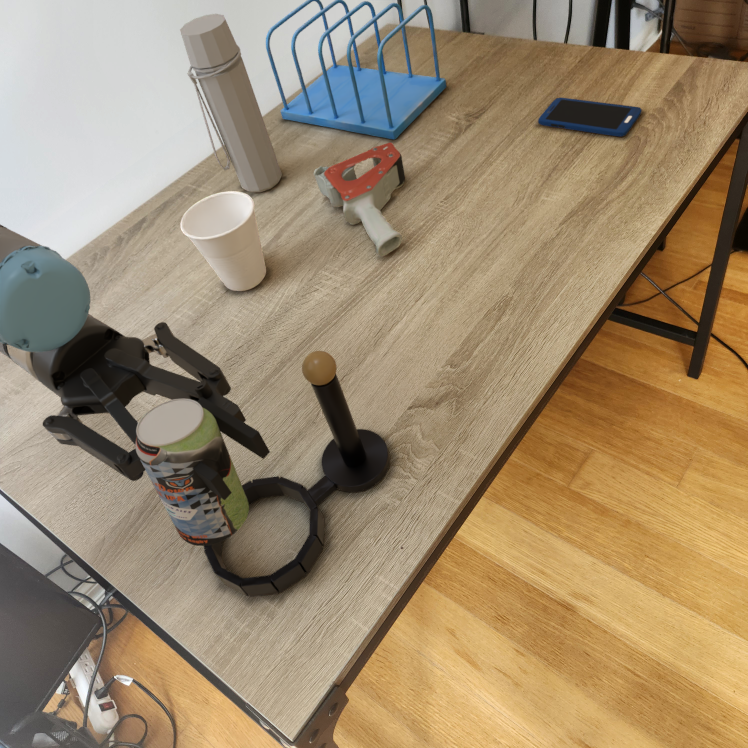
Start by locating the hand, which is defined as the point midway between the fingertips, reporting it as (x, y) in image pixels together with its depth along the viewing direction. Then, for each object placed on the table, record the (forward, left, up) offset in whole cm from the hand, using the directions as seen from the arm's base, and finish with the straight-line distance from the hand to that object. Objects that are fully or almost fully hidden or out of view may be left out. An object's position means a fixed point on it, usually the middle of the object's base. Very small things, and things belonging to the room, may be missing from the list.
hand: (241, 465), depth 47 cm
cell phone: (+3, +80, -18) cm, 82 cm away
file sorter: (-37, +79, -18) cm, 89 cm away
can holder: (-4, +5, -18) cm, 20 cm away
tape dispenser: (-21, +51, -18) cm, 58 cm away
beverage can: (-4, -2, -8) cm, 9 cm away
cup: (-31, +33, -18) cm, 49 cm away
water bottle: (-43, +53, -18) cm, 71 cm away
